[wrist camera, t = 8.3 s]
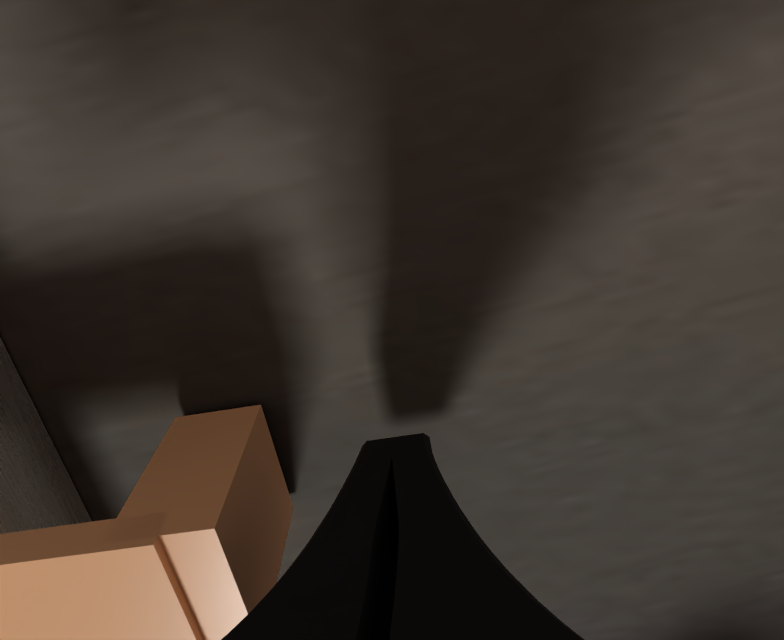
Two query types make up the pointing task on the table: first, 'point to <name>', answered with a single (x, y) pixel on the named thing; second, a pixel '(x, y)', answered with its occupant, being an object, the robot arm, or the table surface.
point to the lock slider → (160, 545)
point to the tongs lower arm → (30, 464)
